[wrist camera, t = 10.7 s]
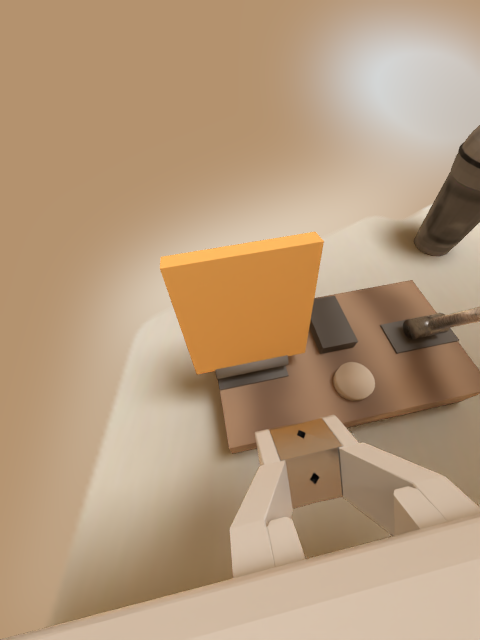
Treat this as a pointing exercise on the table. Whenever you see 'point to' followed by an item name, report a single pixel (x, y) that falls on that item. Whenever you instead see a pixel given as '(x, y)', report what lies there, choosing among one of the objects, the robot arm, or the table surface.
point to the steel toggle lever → (438, 323)
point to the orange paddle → (245, 302)
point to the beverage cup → (454, 203)
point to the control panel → (353, 368)
